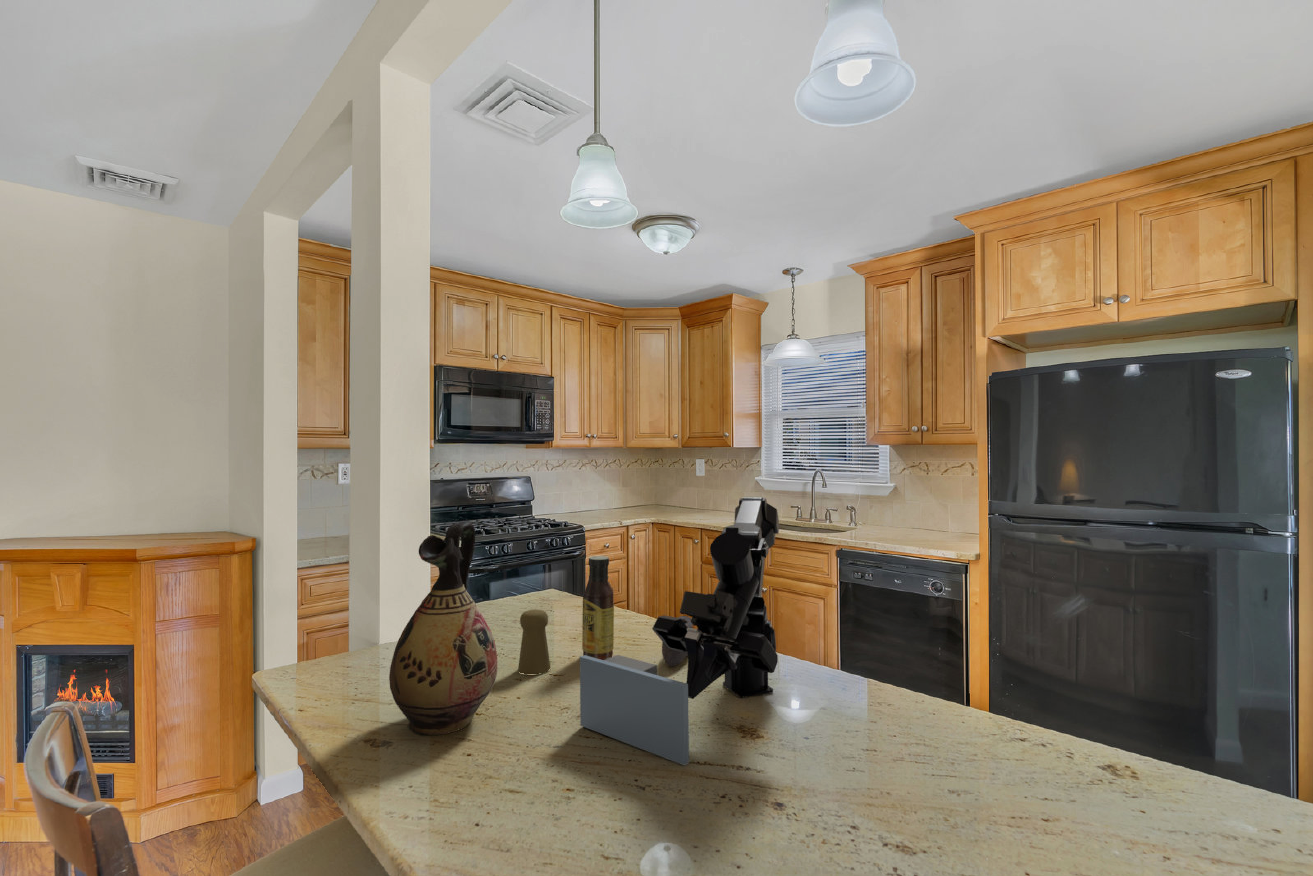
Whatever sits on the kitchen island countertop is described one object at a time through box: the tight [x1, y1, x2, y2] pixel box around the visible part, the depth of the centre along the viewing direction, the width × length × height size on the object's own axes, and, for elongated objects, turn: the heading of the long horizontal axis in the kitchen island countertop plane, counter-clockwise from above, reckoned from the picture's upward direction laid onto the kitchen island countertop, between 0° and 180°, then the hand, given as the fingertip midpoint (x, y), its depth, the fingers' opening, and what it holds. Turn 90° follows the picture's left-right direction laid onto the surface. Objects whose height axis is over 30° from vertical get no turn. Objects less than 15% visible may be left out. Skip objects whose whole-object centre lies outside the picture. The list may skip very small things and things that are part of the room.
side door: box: [579, 655, 690, 766], centre depth 84 cm, size 1×19×10 cm, turn 51°
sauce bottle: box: [581, 555, 615, 660], centre depth 122 cm, size 7×6×20 cm
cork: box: [517, 608, 551, 674], centre depth 115 cm, size 6×6×11 cm
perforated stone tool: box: [661, 615, 694, 667], centre depth 120 cm, size 15×5×7 cm, turn 162°
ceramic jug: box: [388, 520, 498, 737], centre depth 94 cm, size 17×15×30 cm
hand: (689, 697), depth 84 cm, fingers closed
